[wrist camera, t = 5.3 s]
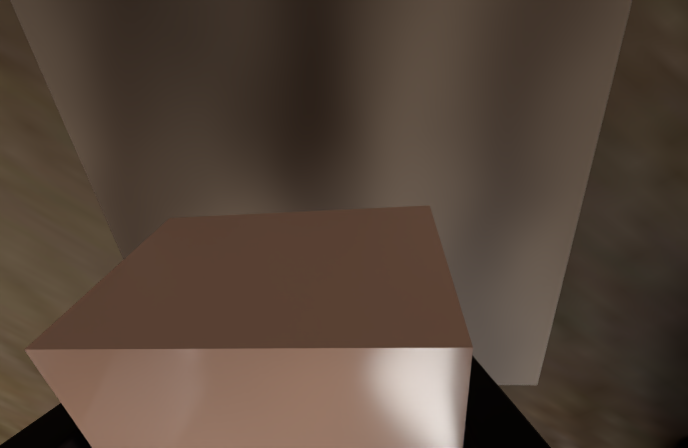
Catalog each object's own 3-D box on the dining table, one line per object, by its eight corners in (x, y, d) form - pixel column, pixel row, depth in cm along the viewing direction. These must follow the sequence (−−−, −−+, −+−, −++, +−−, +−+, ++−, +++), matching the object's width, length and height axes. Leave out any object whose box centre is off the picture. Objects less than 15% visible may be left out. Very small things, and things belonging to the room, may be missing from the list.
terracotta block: (429, 205, 8) (472, 347, 4) (426, 390, 11) (450, 568, 7) (169, 217, 9) (24, 349, 5) (229, 389, 11) (163, 550, 8)
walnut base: (613, -94, 10) (661, -118, 9) (522, 352, 19) (537, 385, 17) (49, -26, 12) (-5, -35, 11) (193, 352, 21) (177, 381, 19)
